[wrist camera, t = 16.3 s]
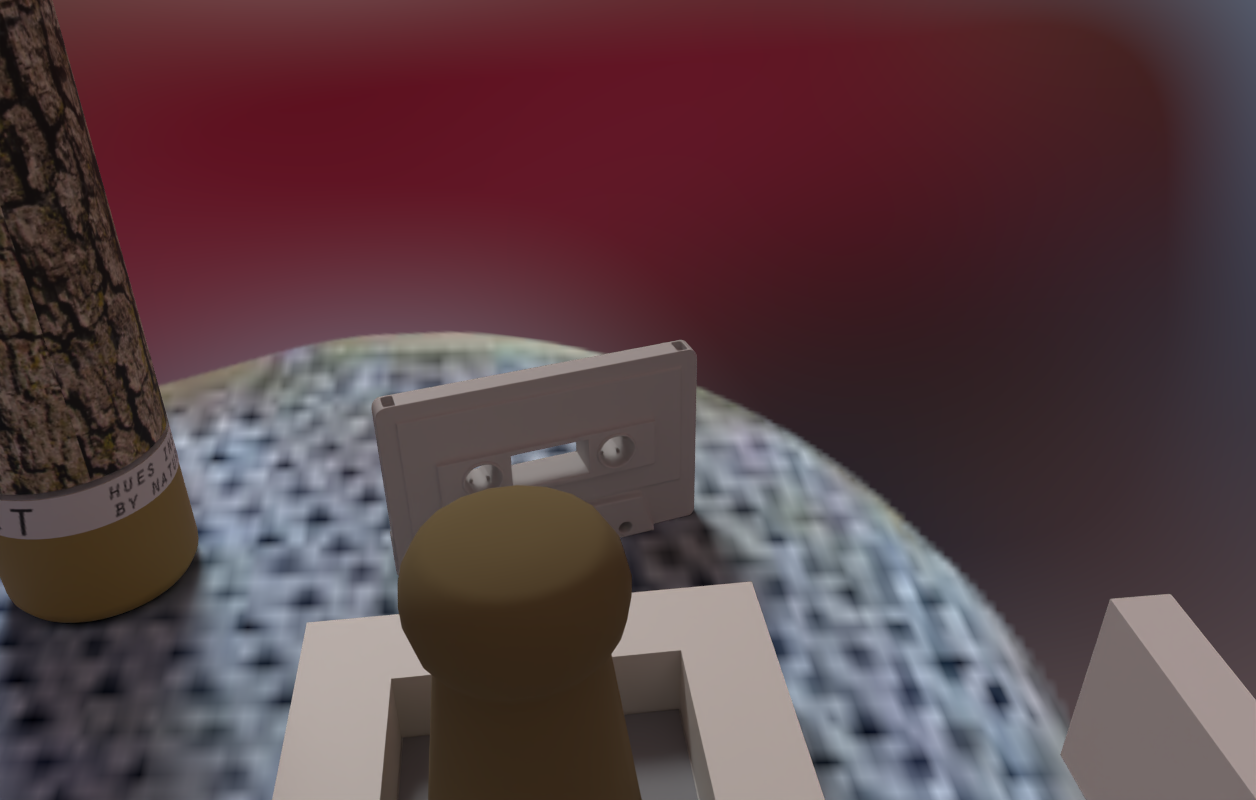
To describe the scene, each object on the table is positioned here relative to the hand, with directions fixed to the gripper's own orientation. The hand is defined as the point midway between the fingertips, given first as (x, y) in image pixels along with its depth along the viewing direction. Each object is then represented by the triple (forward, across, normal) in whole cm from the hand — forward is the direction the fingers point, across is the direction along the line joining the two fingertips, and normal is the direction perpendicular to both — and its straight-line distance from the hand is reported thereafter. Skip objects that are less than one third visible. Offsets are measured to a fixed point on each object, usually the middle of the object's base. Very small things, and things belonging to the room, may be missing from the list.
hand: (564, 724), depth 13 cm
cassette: (+24, +1, -17) cm, 30 cm away
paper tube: (+25, -16, -18) cm, 34 cm away
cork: (+10, 0, -16) cm, 18 cm away
